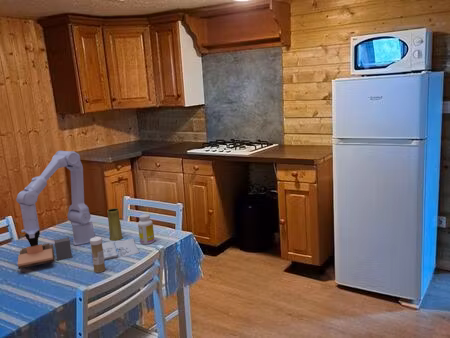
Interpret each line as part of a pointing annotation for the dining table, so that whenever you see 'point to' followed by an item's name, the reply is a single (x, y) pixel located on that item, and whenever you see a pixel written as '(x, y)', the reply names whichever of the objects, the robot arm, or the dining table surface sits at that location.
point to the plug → (63, 249)
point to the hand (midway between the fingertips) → (35, 248)
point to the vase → (114, 224)
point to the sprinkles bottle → (97, 254)
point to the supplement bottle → (145, 229)
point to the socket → (45, 246)
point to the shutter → (35, 255)
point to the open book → (124, 249)
